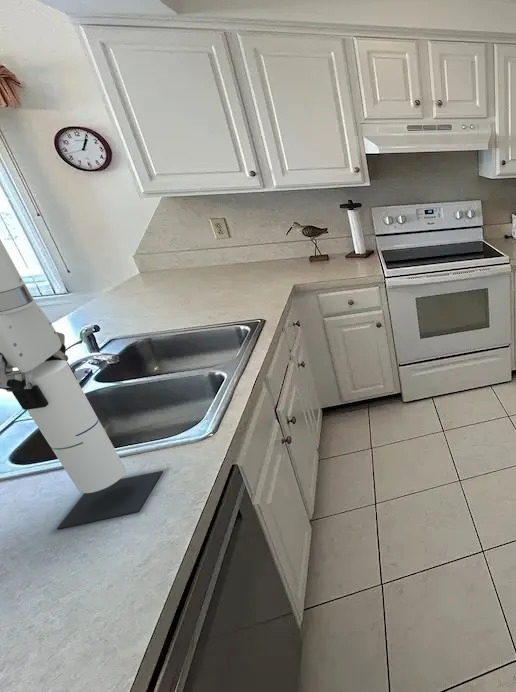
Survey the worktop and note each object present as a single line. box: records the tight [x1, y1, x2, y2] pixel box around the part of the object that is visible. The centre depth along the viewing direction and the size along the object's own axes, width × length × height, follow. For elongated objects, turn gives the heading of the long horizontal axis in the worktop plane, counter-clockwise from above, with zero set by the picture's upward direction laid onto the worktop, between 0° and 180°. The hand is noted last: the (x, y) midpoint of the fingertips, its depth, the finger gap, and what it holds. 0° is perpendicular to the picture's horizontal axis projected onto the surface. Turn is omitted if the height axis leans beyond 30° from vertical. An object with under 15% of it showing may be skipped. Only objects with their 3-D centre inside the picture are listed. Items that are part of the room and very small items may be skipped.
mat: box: [56, 470, 164, 530], centre depth 83 cm, size 13×11×1 cm
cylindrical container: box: [15, 360, 127, 494], centre depth 75 cm, size 7×7×25 cm
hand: (51, 393), depth 72 cm, fingers closed on cylindrical container, 7 cm apart
